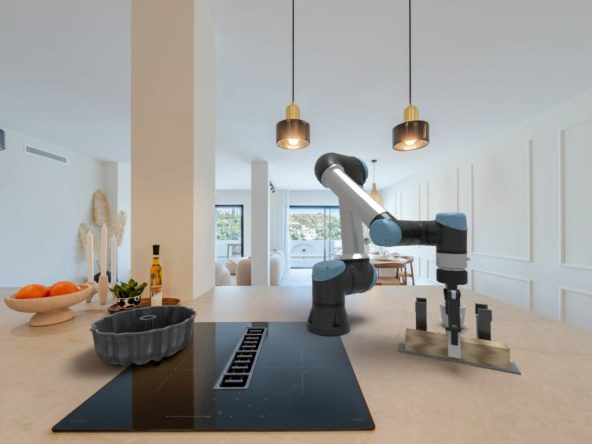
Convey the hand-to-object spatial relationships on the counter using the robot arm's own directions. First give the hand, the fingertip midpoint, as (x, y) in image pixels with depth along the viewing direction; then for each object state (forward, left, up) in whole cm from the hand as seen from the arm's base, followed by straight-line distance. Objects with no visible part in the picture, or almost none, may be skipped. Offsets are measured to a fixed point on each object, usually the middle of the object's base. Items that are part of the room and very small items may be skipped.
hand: (452, 346), depth 74 cm
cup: (+2, +26, -3) cm, 26 cm away
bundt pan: (-78, -35, -3) cm, 86 cm away
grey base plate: (0, 0, -3) cm, 3 cm away
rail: (0, 0, -3) cm, 3 cm away
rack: (0, +7, -3) cm, 7 cm away
